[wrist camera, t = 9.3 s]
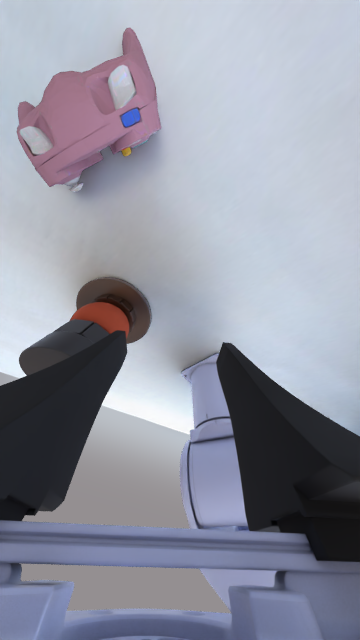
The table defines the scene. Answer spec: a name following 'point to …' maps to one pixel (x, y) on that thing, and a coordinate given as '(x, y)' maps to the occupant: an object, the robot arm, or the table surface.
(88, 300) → the ball stand
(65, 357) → the cap
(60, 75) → the pink toy car
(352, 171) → the table surface
